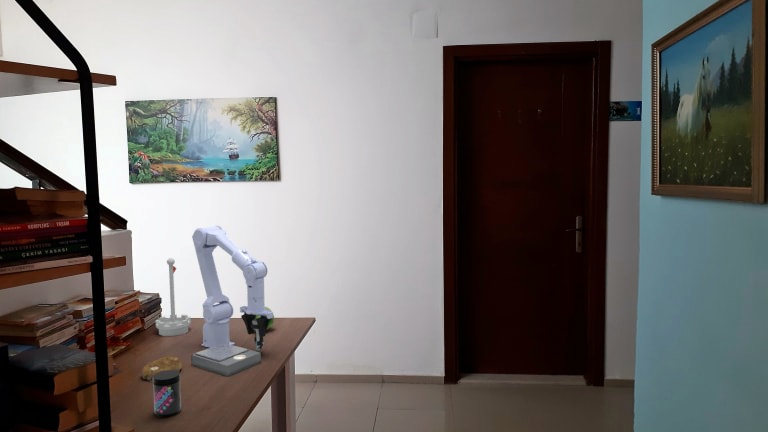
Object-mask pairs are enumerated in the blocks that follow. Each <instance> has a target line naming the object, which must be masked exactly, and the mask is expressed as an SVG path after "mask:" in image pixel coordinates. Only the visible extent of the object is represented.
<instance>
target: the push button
mask: <svg viewBox="0 0 768 432" xmlns="http://www.w3.org/2000/svg"><path fill="white" fill-rule="evenodd" d="M250 325H251V328H252V329H254V333H255V334H254V335H255V336H254V337H253V339H254V340H253V341H254V345H255V351H260V350H262V348H264V347H265V344H264V337H262V338H261V337H260V336H259V328H258V324H257V321H256V319H254V320H252V322H251V323H250Z"/></svg>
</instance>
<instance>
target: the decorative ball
mask: <svg viewBox="0 0 768 432" xmlns="http://www.w3.org/2000/svg"><path fill="white" fill-rule="evenodd" d="M265 309H267V310H269V311H271V312H273V311H272V309H271V308H269V307H268V306H265ZM259 317H260V316H258V315H256V318H259ZM256 318H255V319H256ZM274 323H275V315H274V314H273V318H272V319H271V320H270V322H269V325H268V327H267V330H269V329H270V328H271V327H272V325H273V324H274Z"/></svg>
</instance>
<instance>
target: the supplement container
mask: <svg viewBox="0 0 768 432" xmlns="http://www.w3.org/2000/svg"><path fill="white" fill-rule="evenodd" d="M152 384H153V385H152V387H153V391H152V392H153V407H154V409H153V410H154V414H155V416H157V417H159V418H169V417H172V416H175V415H177V414H179V412H180V411H181V410H182V396H181V373H180V371H177V370H165V371H161V372H158V373H156V374H154V375H153V382H152Z"/></svg>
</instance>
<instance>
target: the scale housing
mask: <svg viewBox="0 0 768 432" xmlns="http://www.w3.org/2000/svg"><path fill="white" fill-rule="evenodd" d="M247 349H248V352H245V353H242V354H240V355H237V356H234V357H232V358H229V359H226V360H224V361H221V362H216V361H213V360H210V359H207V358H203V357H200V356H197V355H195V353H192V354H191V355H190V363H191V366H194V367H196V368H199V369H203V370H205V371H208V372H209V371H210V372H212V373H214V374H219V375H222V376H223V377H224V376H225V377H229V376H232V375H235V374H237V373H239V372H243V371H245V370H247V369H250V368H251V367H254V366H257V365H259V364H261V363H262V356H261V354H262V353H261V352H259V351H257V350H251V349H249V348H247Z"/></svg>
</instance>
